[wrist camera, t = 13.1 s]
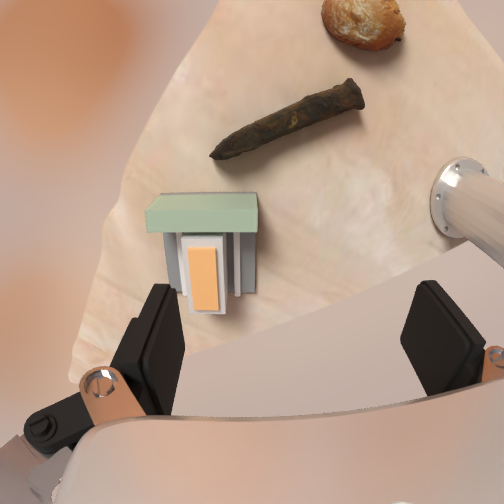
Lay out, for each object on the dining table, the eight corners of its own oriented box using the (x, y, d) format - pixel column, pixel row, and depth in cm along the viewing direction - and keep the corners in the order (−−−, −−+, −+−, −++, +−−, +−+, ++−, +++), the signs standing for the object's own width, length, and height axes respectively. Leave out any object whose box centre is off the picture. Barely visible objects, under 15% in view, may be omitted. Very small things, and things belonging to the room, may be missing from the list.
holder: (226, 219, 38) (221, 241, 32) (228, 287, 42) (225, 317, 36) (190, 219, 38) (179, 241, 32) (196, 287, 42) (188, 316, 36)
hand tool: (346, 79, 31) (359, 75, 27) (358, 108, 33) (372, 108, 29) (202, 133, 35) (195, 136, 30) (216, 162, 36) (211, 169, 32)
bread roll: (344, -11, 28) (334, -43, 21) (414, 17, 26) (419, -13, 19) (316, 39, 32) (301, 11, 25) (388, 70, 30) (391, 46, 23)
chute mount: (256, 192, 38) (257, 209, 31) (254, 288, 44) (255, 319, 37) (161, 193, 37) (144, 210, 31) (171, 287, 43) (160, 317, 37)
